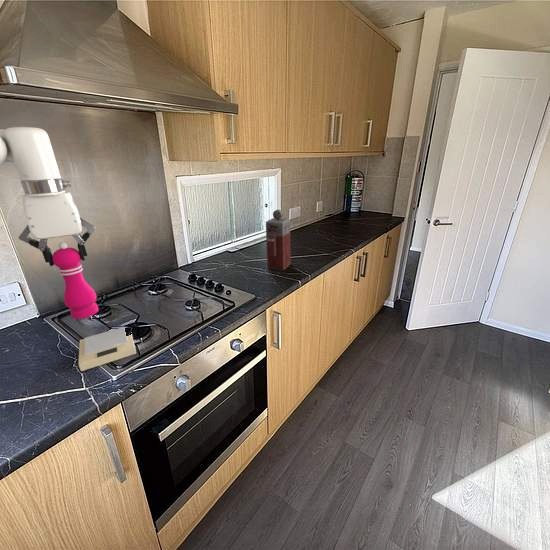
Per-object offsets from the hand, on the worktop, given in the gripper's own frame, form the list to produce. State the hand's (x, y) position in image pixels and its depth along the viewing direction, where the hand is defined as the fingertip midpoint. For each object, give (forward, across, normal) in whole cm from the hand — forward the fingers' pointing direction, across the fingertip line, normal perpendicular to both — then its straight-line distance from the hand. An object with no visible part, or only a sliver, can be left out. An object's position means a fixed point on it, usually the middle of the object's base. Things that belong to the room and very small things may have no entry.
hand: (68, 261), depth 74 cm
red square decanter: (+30, -79, -31) cm, 90 cm away
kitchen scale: (+29, -2, -2) cm, 30 cm away
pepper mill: (+15, 0, 0) cm, 15 cm away
